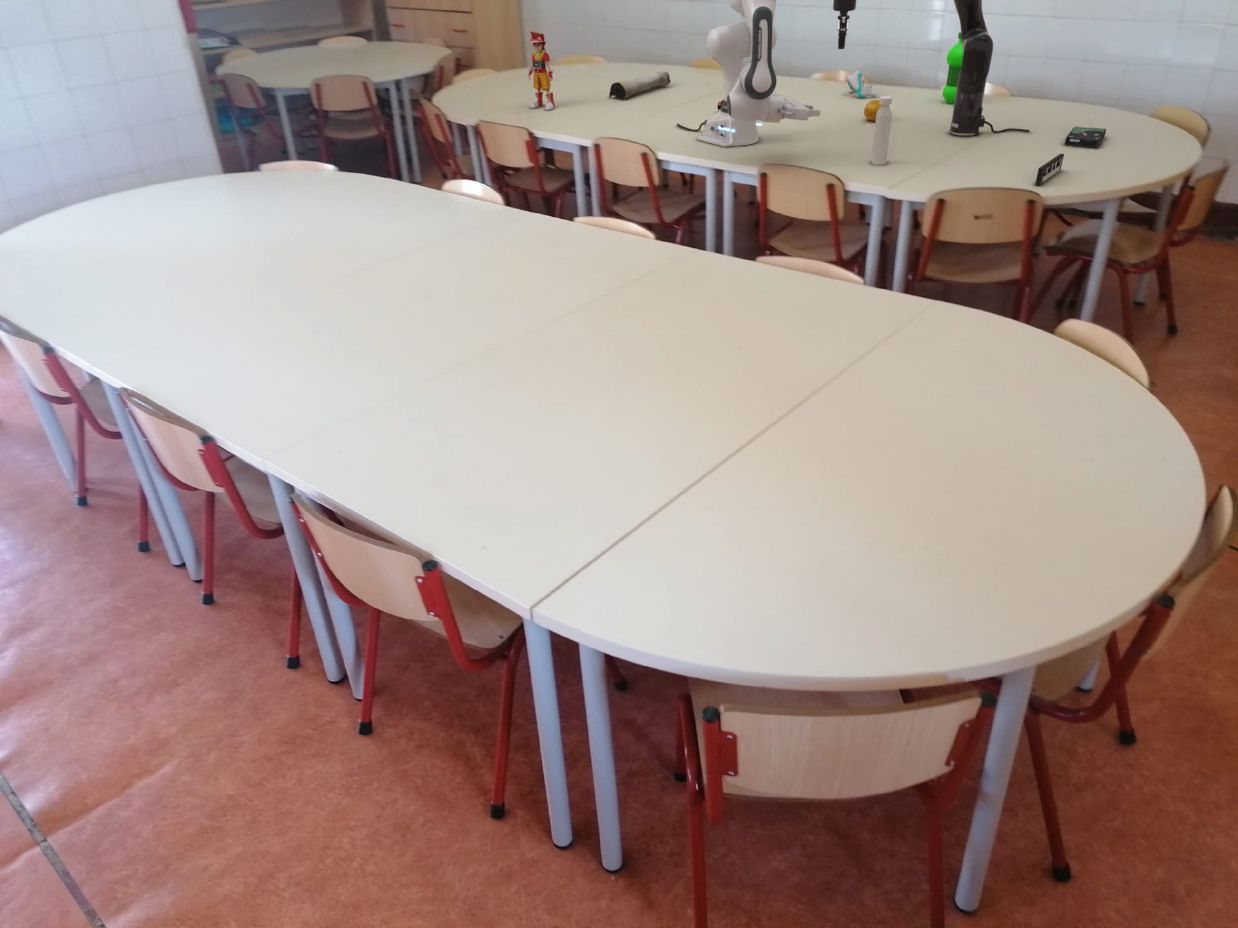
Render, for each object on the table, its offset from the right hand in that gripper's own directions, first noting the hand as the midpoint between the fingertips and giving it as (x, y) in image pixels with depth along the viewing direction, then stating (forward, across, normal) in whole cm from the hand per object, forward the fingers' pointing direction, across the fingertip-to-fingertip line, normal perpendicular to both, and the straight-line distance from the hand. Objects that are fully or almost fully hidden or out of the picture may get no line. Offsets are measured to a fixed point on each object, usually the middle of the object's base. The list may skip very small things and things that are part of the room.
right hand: (841, 46), depth 311 cm
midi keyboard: (+29, -50, -64) cm, 87 cm away
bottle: (+29, -36, -15) cm, 48 cm away
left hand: (+14, -29, +7) cm, 33 cm away
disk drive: (+29, -10, -83) cm, 89 cm away
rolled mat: (+29, +67, +84) cm, 111 cm away
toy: (+29, +40, +122) cm, 132 cm away
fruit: (+29, +18, -15) cm, 38 cm away
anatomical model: (+29, +59, -10) cm, 67 cm away
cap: (+9, -36, -15) cm, 39 cm away
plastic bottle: (+29, +46, -46) cm, 71 cm away
